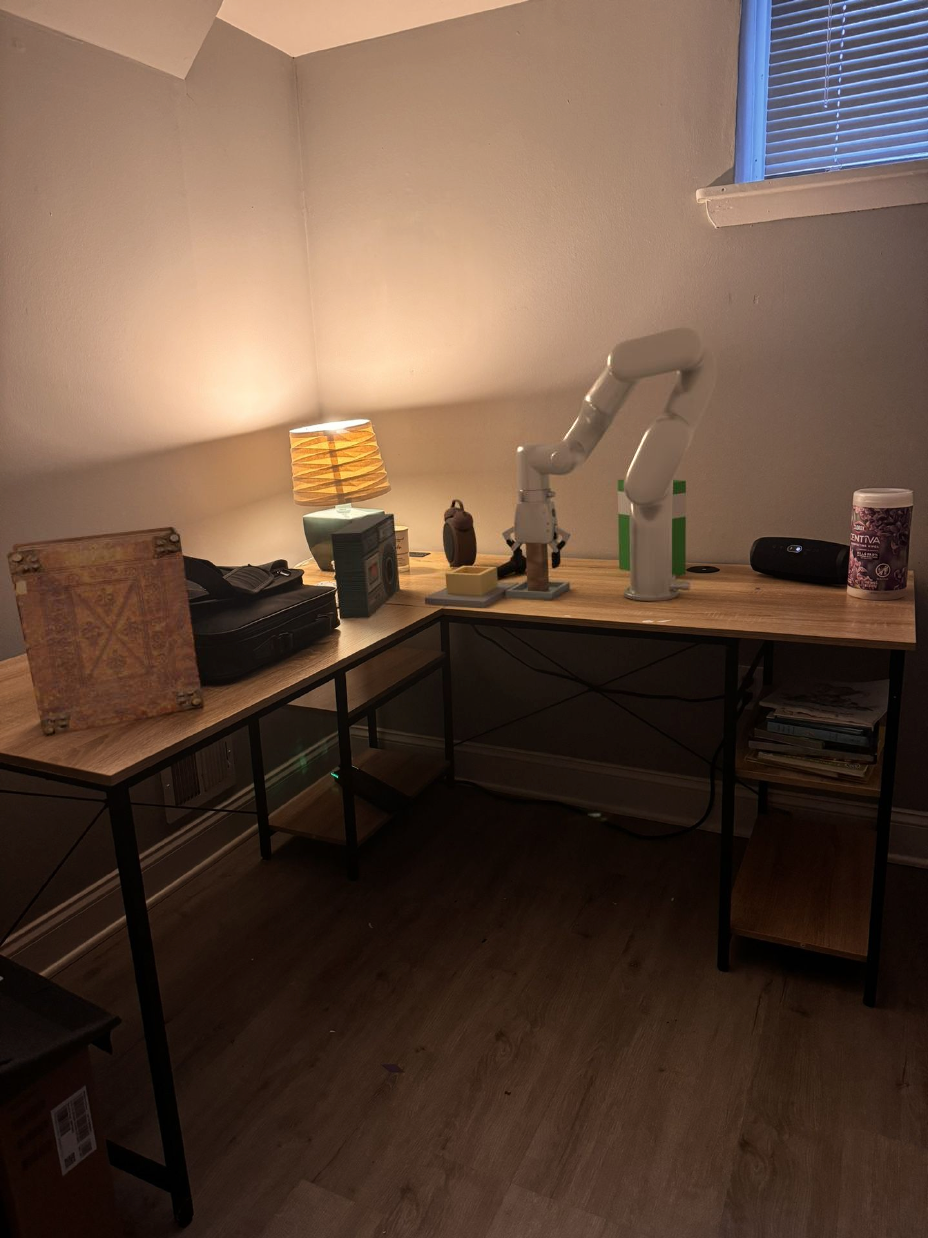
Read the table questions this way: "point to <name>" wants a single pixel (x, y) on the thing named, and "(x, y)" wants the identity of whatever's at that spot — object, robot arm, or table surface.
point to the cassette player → (365, 565)
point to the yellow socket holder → (470, 588)
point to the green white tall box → (677, 528)
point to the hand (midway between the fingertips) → (537, 566)
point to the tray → (522, 591)
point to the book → (106, 628)
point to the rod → (537, 567)
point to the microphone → (511, 568)
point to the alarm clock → (459, 536)
